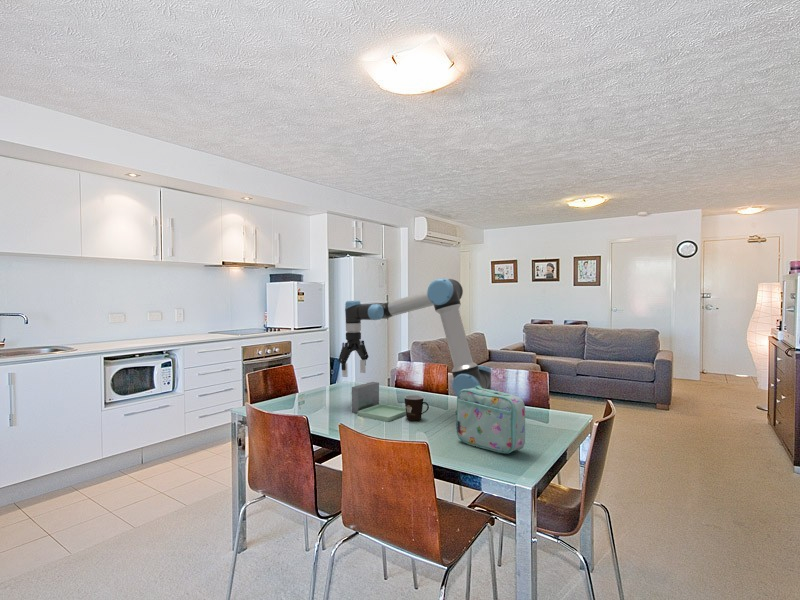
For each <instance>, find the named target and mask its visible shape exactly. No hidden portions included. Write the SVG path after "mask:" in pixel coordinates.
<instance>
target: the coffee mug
mask: <svg viewBox="0 0 800 600" xmlns="http://www.w3.org/2000/svg"><path fill="white" fill-rule="evenodd" d="M424 397H425V396H422V395H418V394H411V395H409V394H408V395H405V396H404V397H403V398H404V408H406V420H407V421H408V422H416V423H417V422H420V421H422V415H424V414H425V413H427V412H428V410H429V409H430V406H429V403H428V402H427V401H424ZM424 404H425V405H426V406H427V407H426V409H425V410H424V411H423V406H424Z"/></svg>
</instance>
